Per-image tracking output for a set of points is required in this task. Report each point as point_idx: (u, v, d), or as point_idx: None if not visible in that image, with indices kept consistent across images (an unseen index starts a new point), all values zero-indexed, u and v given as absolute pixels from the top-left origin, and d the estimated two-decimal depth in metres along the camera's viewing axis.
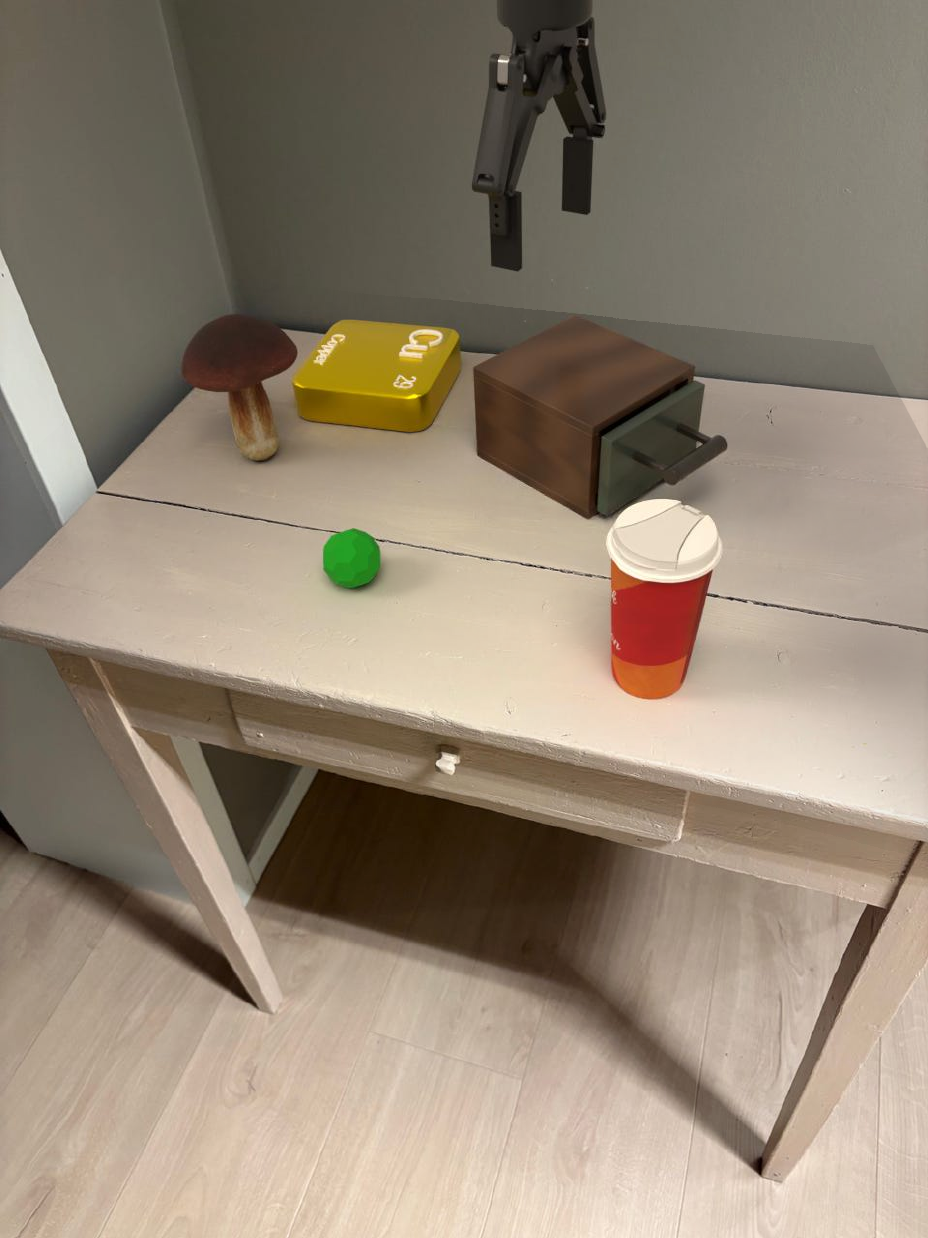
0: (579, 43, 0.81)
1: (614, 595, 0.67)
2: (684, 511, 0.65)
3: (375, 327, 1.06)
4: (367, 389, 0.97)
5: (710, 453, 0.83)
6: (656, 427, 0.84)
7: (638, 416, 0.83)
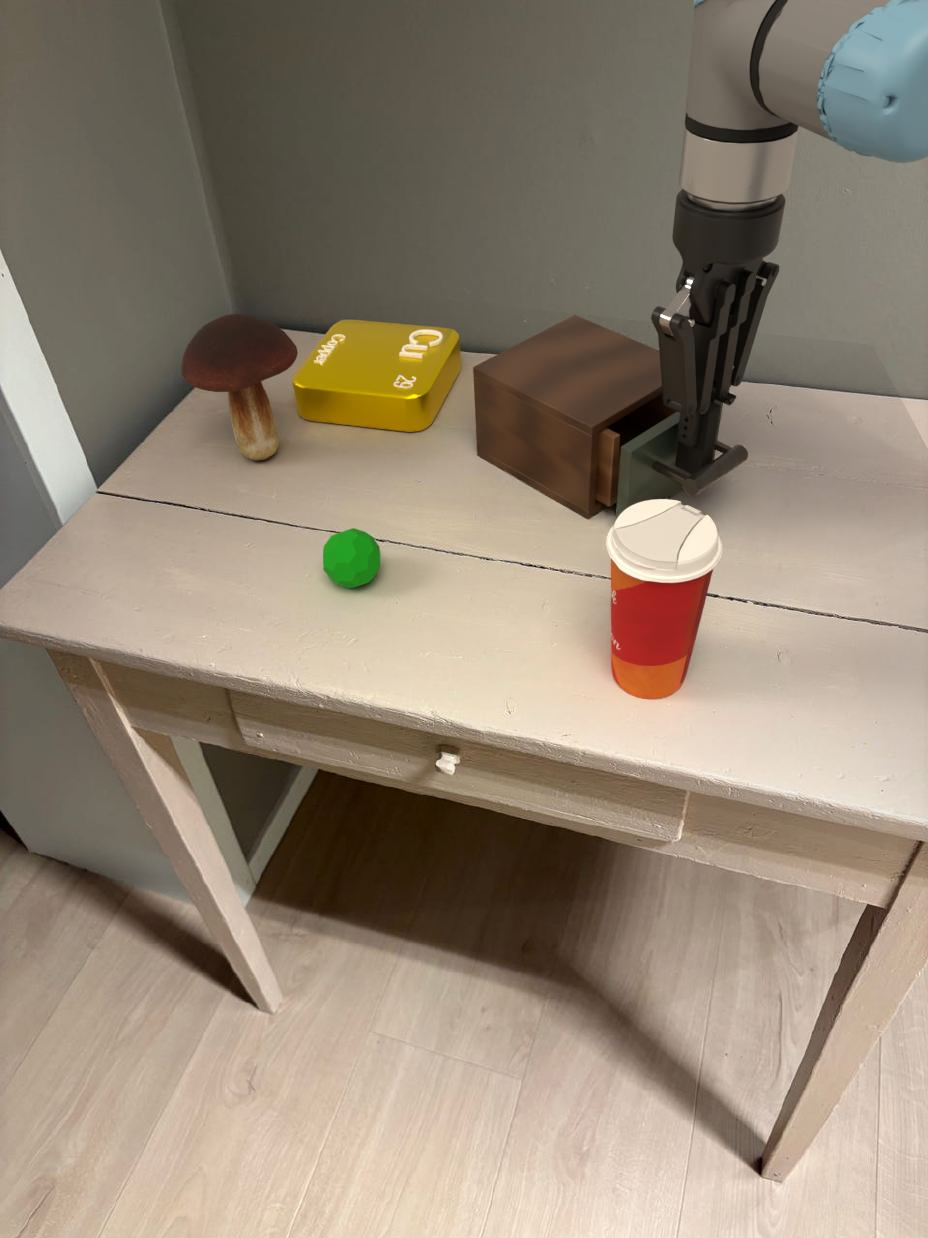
0: (756, 280, 0.74)
1: (613, 595, 0.67)
2: (684, 511, 0.65)
3: (375, 327, 1.06)
4: (367, 389, 0.97)
5: (731, 463, 0.82)
6: (676, 436, 0.83)
7: (657, 425, 0.82)
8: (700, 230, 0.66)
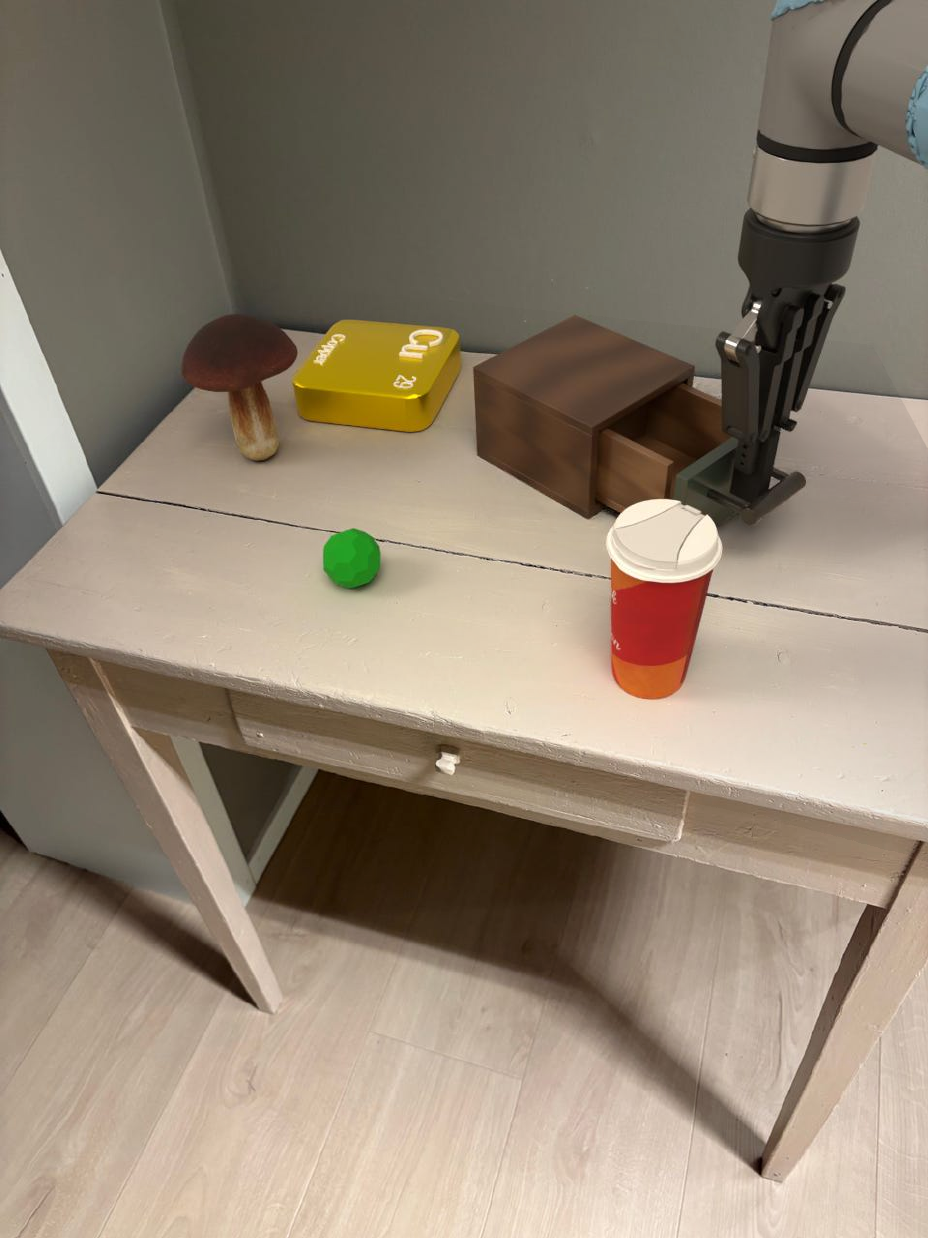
0: None
1: (613, 596, 0.67)
2: (684, 511, 0.65)
3: (375, 327, 1.06)
4: (367, 389, 0.97)
5: (789, 491, 0.78)
6: (731, 463, 0.80)
7: (712, 452, 0.78)
8: (770, 252, 0.63)
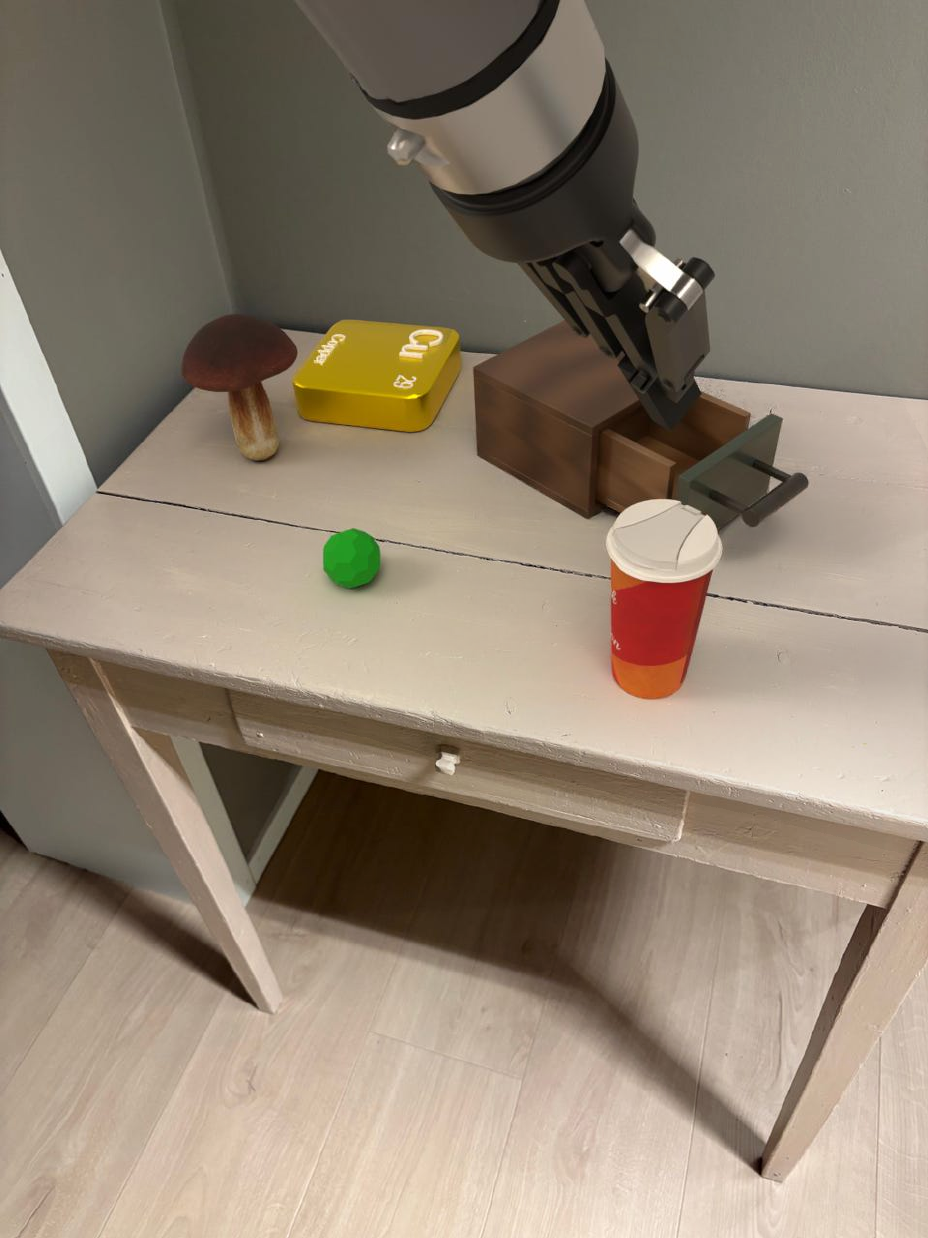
0: None
1: (613, 596, 0.67)
2: (684, 511, 0.65)
3: (375, 327, 1.06)
4: (367, 389, 0.97)
5: (792, 493, 0.78)
6: (733, 464, 0.79)
7: (715, 453, 0.78)
8: (605, 168, 0.34)
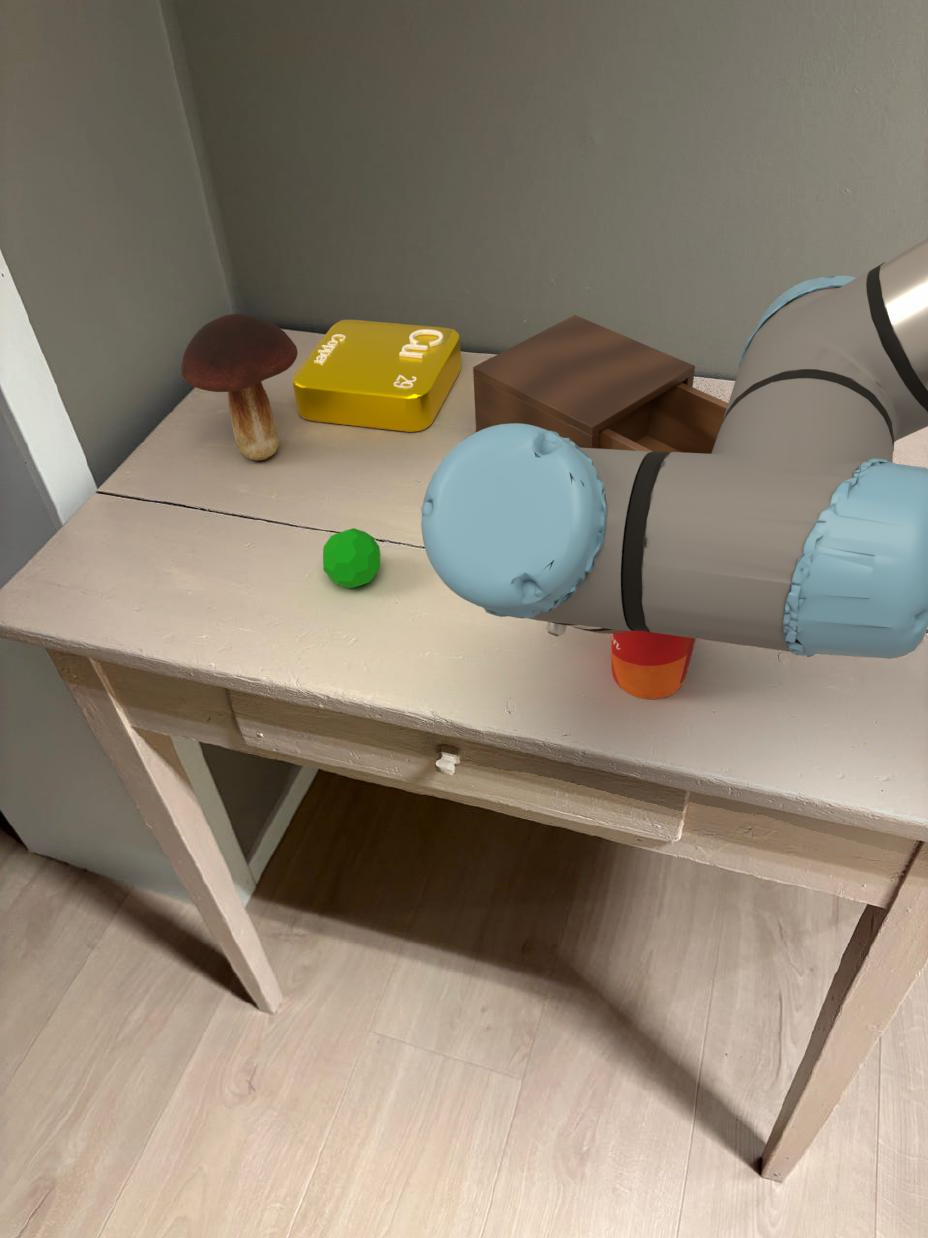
0: None
1: None
2: None
3: (375, 327, 1.06)
4: (367, 389, 0.97)
5: None
6: None
7: None
8: None
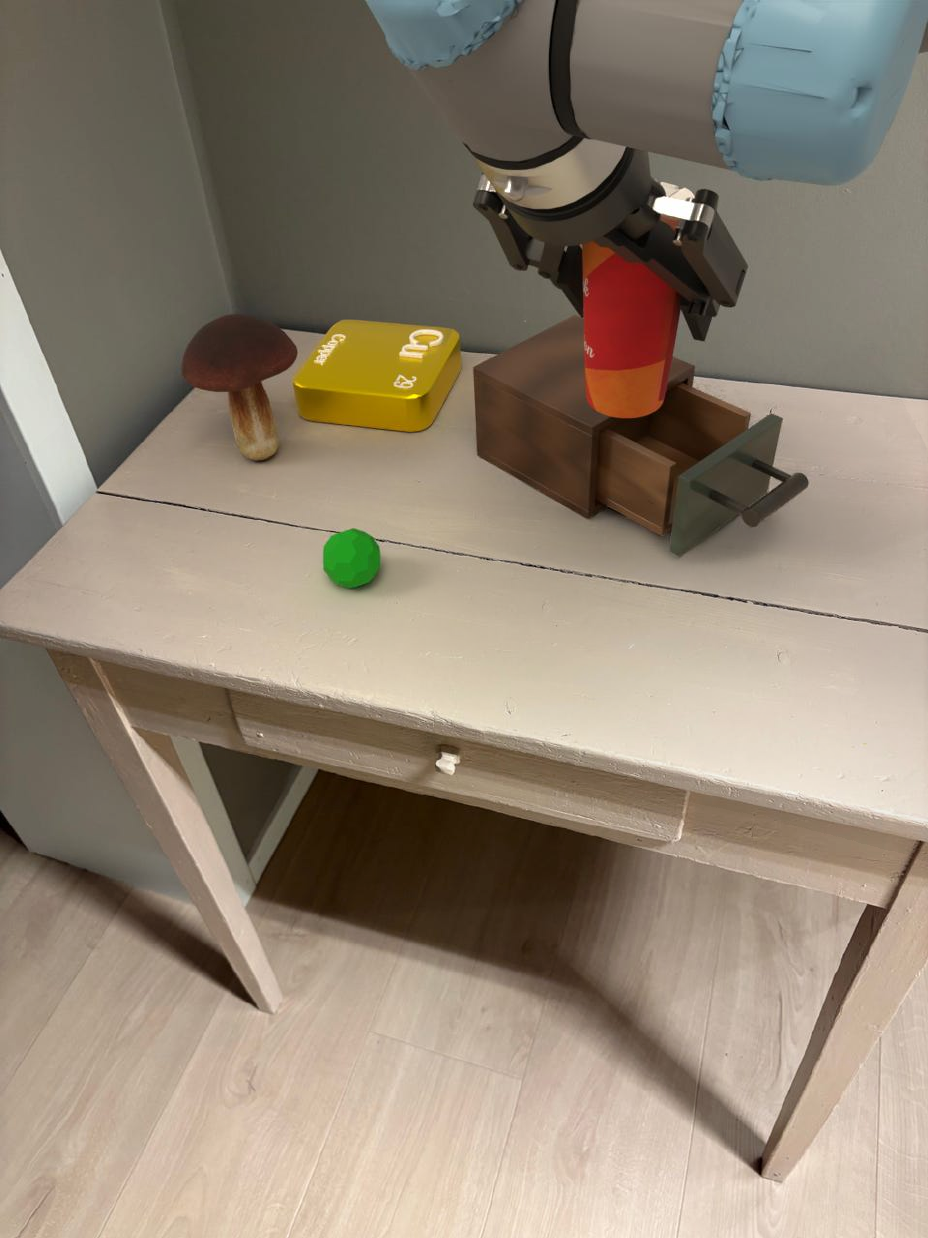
0: None
1: (586, 286, 0.62)
2: None
3: (375, 327, 1.06)
4: (367, 389, 0.97)
5: (792, 493, 0.78)
6: (733, 464, 0.79)
7: (715, 453, 0.78)
8: (639, 157, 0.46)
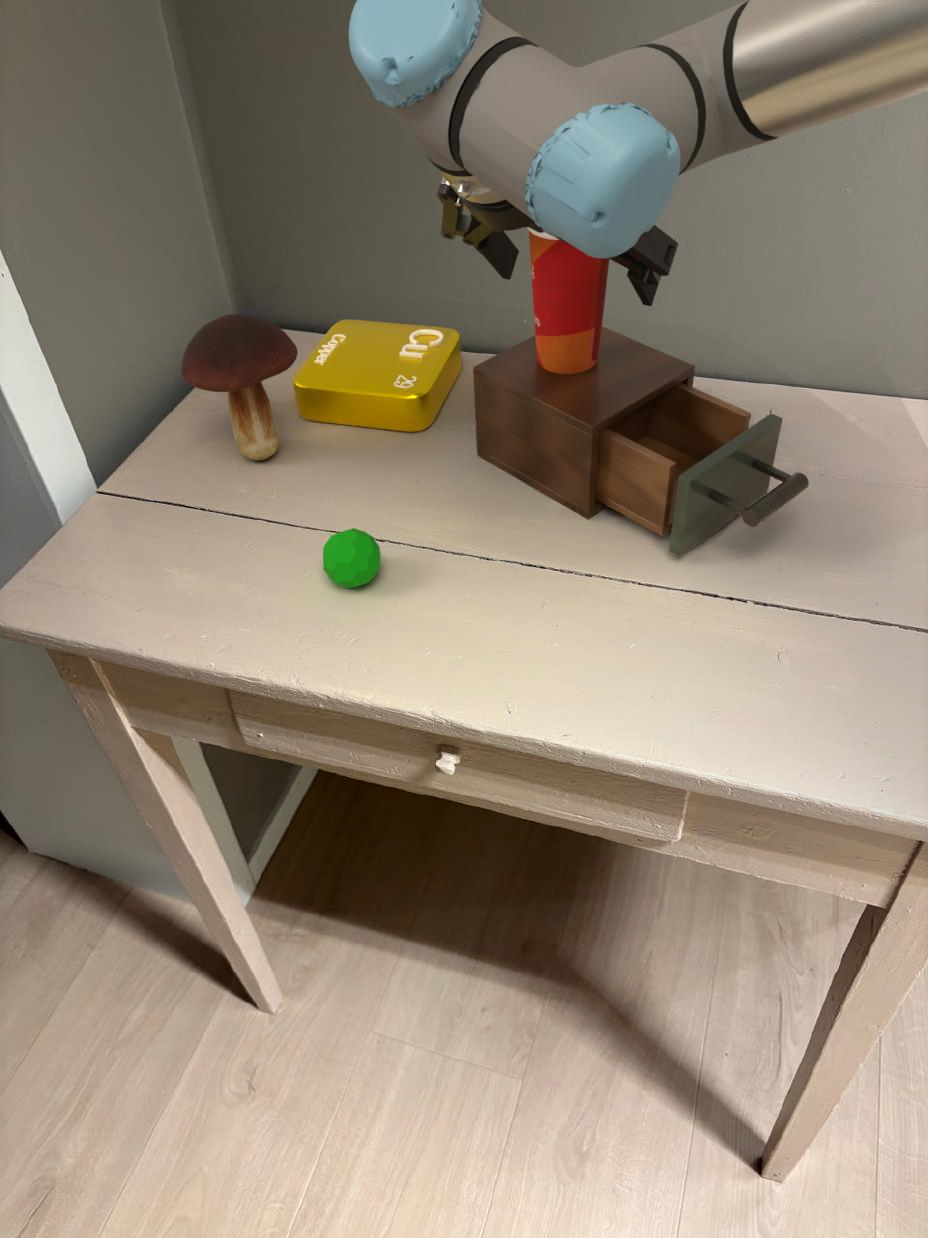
0: None
1: (532, 271, 0.82)
2: None
3: (375, 327, 1.06)
4: (367, 389, 0.97)
5: (792, 493, 0.78)
6: (733, 464, 0.79)
7: (715, 453, 0.78)
8: None
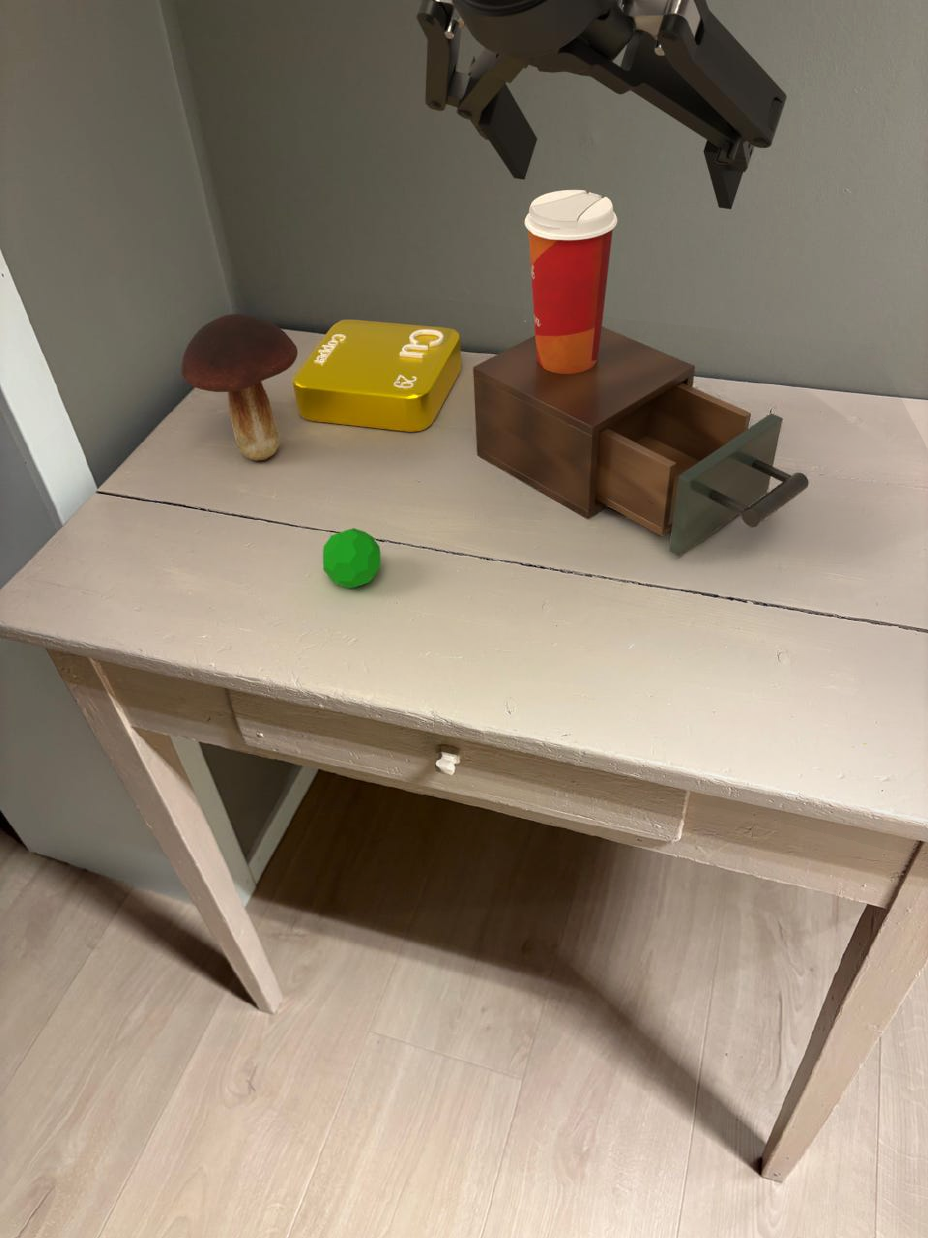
0: None
1: (532, 271, 0.82)
2: (587, 195, 0.80)
3: (375, 327, 1.06)
4: (368, 389, 0.97)
5: (792, 493, 0.78)
6: (733, 464, 0.79)
7: (715, 453, 0.78)
8: None
